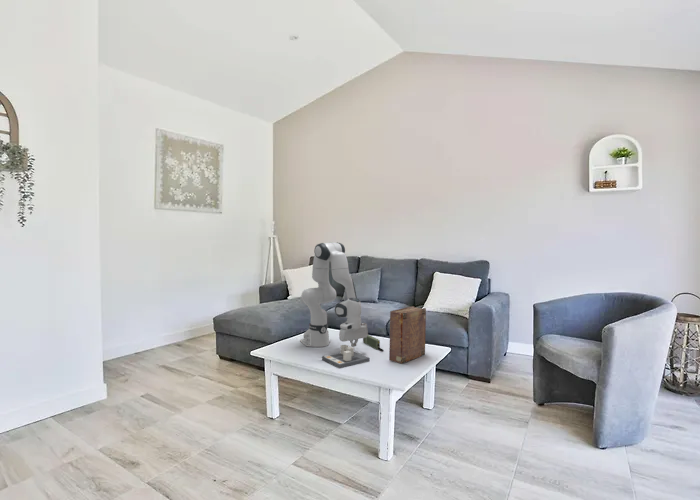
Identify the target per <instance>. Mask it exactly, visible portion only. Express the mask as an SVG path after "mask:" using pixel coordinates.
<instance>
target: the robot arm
mask: <svg viewBox="0 0 700 500" xmlns="http://www.w3.org/2000/svg"><path fill="white" fill-rule="evenodd" d="M313 252H314V256H313V261H312V273H311V278H312V280H313V281H314V282H315V283H317V285H318V286H317V287H310V288H306V289H304V290H303V291H302V292H301V301H302V303H303V304H305V305H306V306H307V307H308V309H309V312H310V323H309V325H308V326H309V327H308V329H307V330H306V331H304V333H303V338H301V339H300V340H299V341H300V342H301V343H302V344H303V345H304V346H305V347H313V348H322V347H327V346H329V345H330V343H331V340H330V334H329V330H328V327H329V325H328V313H327V311H326V310H325V309H324V308H322V307H321V304H329V303H332V302H334V301H335V300H336V298H337V291H336V289H335V288H334V287H333V286H332V285H331V282H330V277H329V275H330V272H329V271H330V269H331V275H332V276H331V277H332V279H333V280H334V281H335V282H336V283H337V284H340V285H342V286H343V287H344V289H345V292H346V297H347V299H346V300H344V301H341V302H338V303H336V305H335V306H334V314H335V315H336V317H338V318H346V321H344V322H343V323H341V324H340V325H339V326H340V329H339V337H338V339H339V341H340V342H343V343H344V342H350V347H353V348H354V347H357V344H358V342H359V339H363V338H366V337H367V336H368V335H369V332H368V331H369V330H368V324H367V323H366V322H362V318H361V317H362V316H361V315H362V303H361V300H360V299H359V298H357V297H358V296H357V292H356V287H355V284H354V283H355V282H354V280H353V277H352V276H351V274H350V269H349V261H348V259H347V258H348V257H347V254H346V248H345V245H344V244H343V243H341V242H333V241H332V242H331V241H329V242H320V243H317V244H316V245H315V246H314V250H313ZM330 267H331V268H330Z"/></svg>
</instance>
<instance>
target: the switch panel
mask: <svg viewBox="0 0 700 500" xmlns="http://www.w3.org/2000/svg"><path fill="white" fill-rule="evenodd" d="M321 360H322V361H324V362H326V363H328V364H330V365H332V366H334V367H336V368H338V369H343V368H347V367H351V366H355V365H359V364H364V363H368V362H370V357H369V356H366V355H363V354H361V353H359V352H356V351H354V356H352V357H351V361H344V360H343V354H341V352H337V353H334V354H333V353H331V354H328V355H322V356H321Z"/></svg>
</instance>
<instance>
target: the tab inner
mask: <svg viewBox="0 0 700 500" xmlns="http://www.w3.org/2000/svg"><path fill="white" fill-rule="evenodd" d="M346 347H349V345H347V344H342V345H340V353H341V354H343V351H346Z"/></svg>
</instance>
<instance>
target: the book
mask: <svg viewBox="0 0 700 500" xmlns="http://www.w3.org/2000/svg"><path fill="white" fill-rule="evenodd" d="M389 315H390V316H389V348H388V349H389V357H388V359H389V361H392V362H394V363H398V364H401V365H403V364H404V363H407V362H410V361H413V360H416V359H418V358H420V357H424V356H425V355H426V332H427V331H426V330H427V329H426V327H427V326H426V325H427V324H426V323H427V317H426V316H427V308H426V307H425V308H420V307H415V306H414V305H412V306H407V307H404V308H403V307H402V308H398V309H395V310H391V311H390V312H389Z"/></svg>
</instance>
